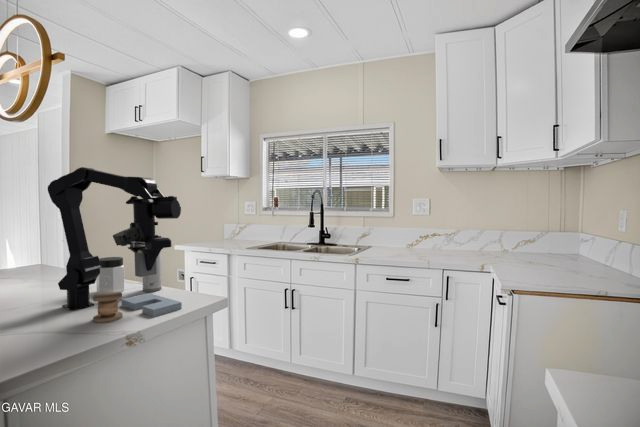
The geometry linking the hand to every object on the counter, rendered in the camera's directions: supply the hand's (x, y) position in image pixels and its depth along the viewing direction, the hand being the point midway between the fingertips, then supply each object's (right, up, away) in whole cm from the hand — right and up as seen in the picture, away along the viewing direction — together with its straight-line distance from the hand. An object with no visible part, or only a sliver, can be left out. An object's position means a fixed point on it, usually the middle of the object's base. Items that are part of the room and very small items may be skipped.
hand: (146, 270), depth 104 cm
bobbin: (-6, -12, -8) cm, 16 cm away
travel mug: (-9, -11, +22) cm, 26 cm away
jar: (-23, -11, +19) cm, 32 cm away
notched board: (+1, -12, +2) cm, 12 cm away
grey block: (0, -2, 0) cm, 2 cm away
